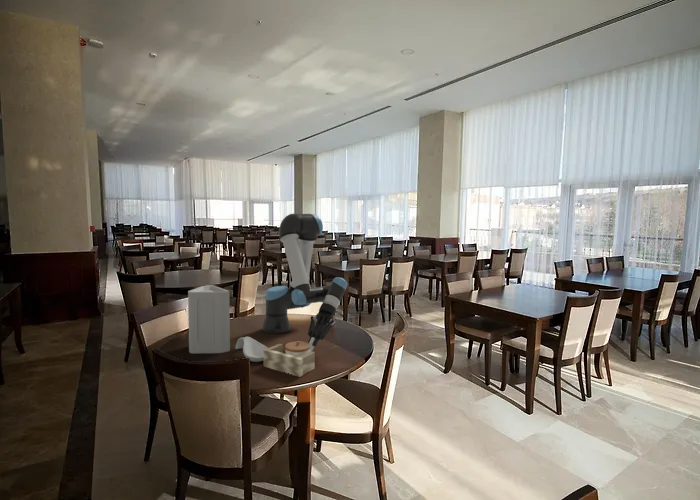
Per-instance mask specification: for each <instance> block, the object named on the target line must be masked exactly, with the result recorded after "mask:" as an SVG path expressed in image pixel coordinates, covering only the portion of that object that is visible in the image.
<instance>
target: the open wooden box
mask: <svg viewBox="0 0 700 500" xmlns="http://www.w3.org/2000/svg"><path fill="white" fill-rule="evenodd" d="M315 360H316V351H313V350H312V351H310V352H308V353H306V354H304V355H302V356H300V357H297V356H293V355H289V354H286V353H284V344H283V343H277V344H275V345H273V346H270V347H268V348H267V349H265V350H264V361H263V367H265V368H268V369H271V370H275V371H277V372H282V373H284V372H285V374H288V373H289V374H288V375H291V374H292V375H291V376H296V377H298V378H300V377H303V376H304V375H305V374H308V373H309V372H311V371H313V370H315V367H316V366H315ZM307 372H308V373H307Z"/></svg>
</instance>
